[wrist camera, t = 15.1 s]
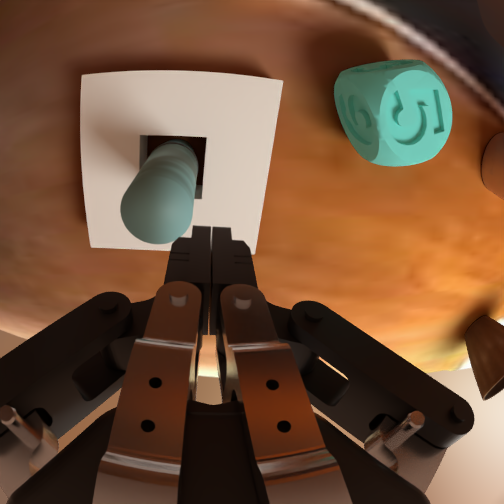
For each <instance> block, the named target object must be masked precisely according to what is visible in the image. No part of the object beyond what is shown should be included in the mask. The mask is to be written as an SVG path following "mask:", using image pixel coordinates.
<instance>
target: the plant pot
mask: <svg viewBox="0 0 504 504" xmlns="http://www.w3.org/2000/svg"><path fill="white" fill-rule="evenodd" d="M465 341H466V346H467V350H468V355H469V359H470V362H471V366H472V369H473V373H474V375H475V379H476V382H477V385H478V387H479V391H480V393H481V396H482V399H483V400H488V399H490V398H491V397H493V396H495V395H496V394H497V393H499V392H500V391H501V390H503V389H504V326H503V325H501V324H500V323H498V322H497V321H495V320H493V319H491V318H490V317H488V316H483V317H481V318H479V319H478V320H476V321H475V322H474V323H473V324H472V325H471V326H470V327H469V329H468V330H467V332H466V334H465Z"/></svg>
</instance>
